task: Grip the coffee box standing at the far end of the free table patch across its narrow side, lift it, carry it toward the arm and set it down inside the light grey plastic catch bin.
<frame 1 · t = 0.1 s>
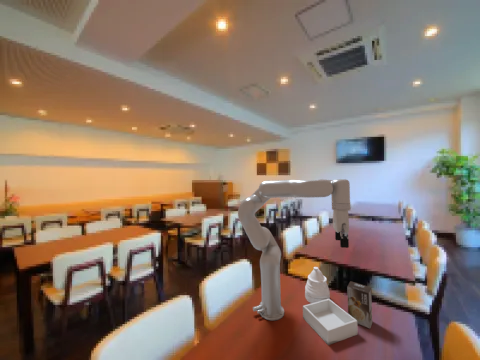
hand: (341, 243, 92), 37 cm above the table, tool pointing down, fingers open, 9 cm apart
catch bin: (328, 325, 92), on the table
honey pot: (317, 298, 112), on the table
coffee box: (360, 320, 94), on the table
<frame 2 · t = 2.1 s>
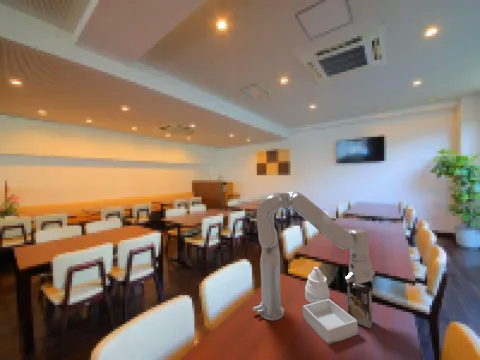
hand: (361, 292, 94), 13 cm above the table, tool pointing down, fingers open, 9 cm apart
nothing on the table moved.
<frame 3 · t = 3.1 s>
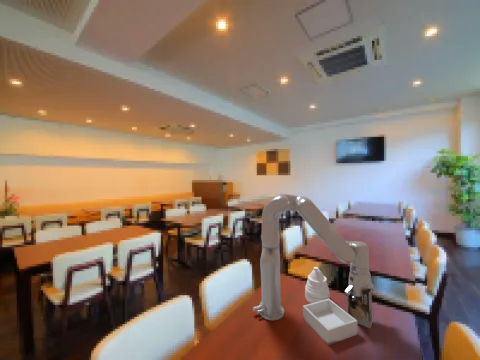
hand: (360, 305, 94), 7 cm above the table, tool pointing down, fingers closed on coffee box, 8 cm apart
coffee box: (360, 320, 94), on the table, touching gripper
everything else where it was.
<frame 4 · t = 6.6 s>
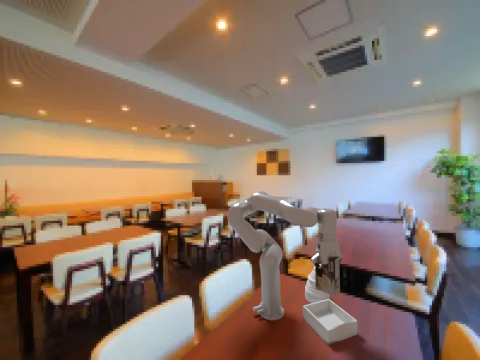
hand: (327, 274, 91), 24 cm above the table, tool pointing down, fingers closed on coffee box, 8 cm apart
coffee box: (327, 290, 92), point 16 cm above the table, touching gripper
everything else where it was.
when the fingers open (10 cm above the table, at t = 10.4 s): coffee box drops 1 cm, resting on catch bin.
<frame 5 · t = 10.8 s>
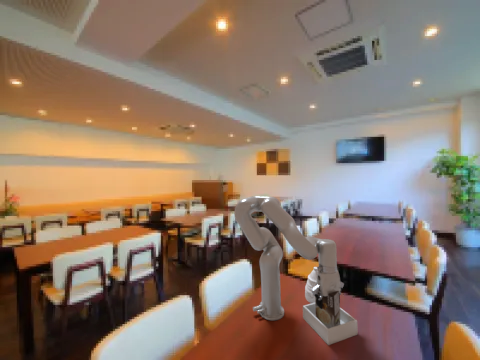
hand: (328, 304, 92), 10 cm above the table, tool pointing down, fingers open, 9 cm apart
coffee box: (328, 324, 92), point 1 cm above the table, touching catch bin
everything else where it was.
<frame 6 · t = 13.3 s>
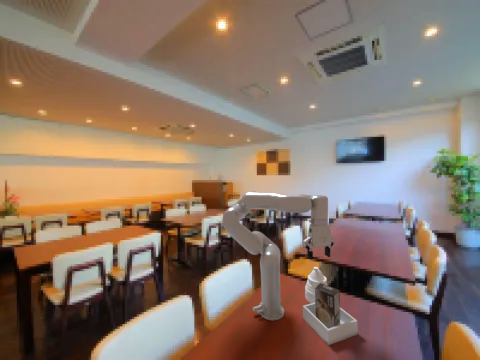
hand: (318, 257, 96), 30 cm above the table, tool pointing down, fingers open, 9 cm apart
nothing on the table moved.
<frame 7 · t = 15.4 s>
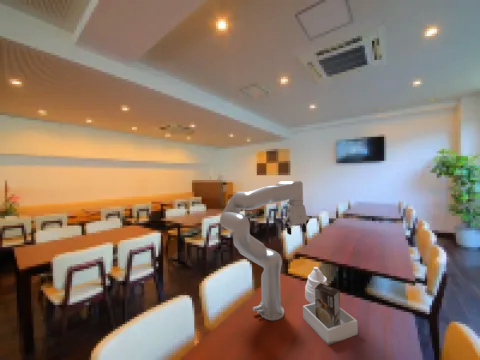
hand: (296, 233, 113), 36 cm above the table, tool pointing down, fingers open, 9 cm apart
nothing on the table moved.
at the end: coffee box inside the target area on the catch bin (0.3 cm from its centre), point 0.8 cm above the catch bin's base; the gripper is holding nothing; coffee box tilted 0° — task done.
